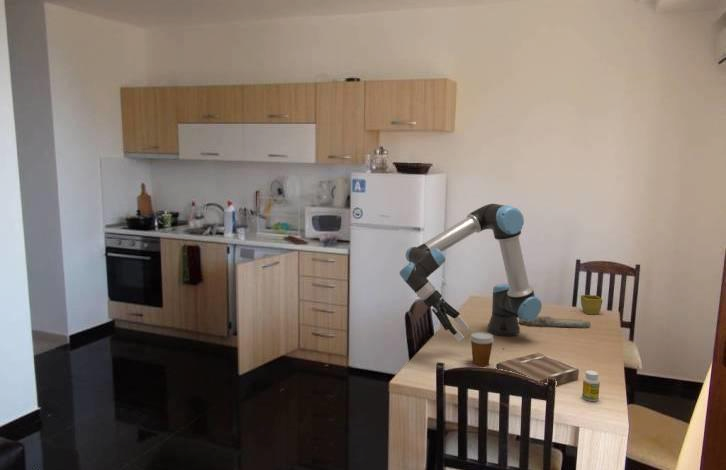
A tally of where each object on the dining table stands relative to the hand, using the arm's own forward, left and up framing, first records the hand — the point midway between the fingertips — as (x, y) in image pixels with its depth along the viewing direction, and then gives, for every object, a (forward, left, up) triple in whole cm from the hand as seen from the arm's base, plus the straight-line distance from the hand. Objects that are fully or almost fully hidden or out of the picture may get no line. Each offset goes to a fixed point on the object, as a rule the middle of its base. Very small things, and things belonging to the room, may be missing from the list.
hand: (464, 334), depth 222 cm
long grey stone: (-73, -16, -12) cm, 76 cm away
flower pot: (-107, -21, -12) cm, 110 cm away
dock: (-16, +25, -12) cm, 32 cm away
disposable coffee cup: (-5, +5, -12) cm, 14 cm away
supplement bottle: (-17, +48, -12) cm, 52 cm away
